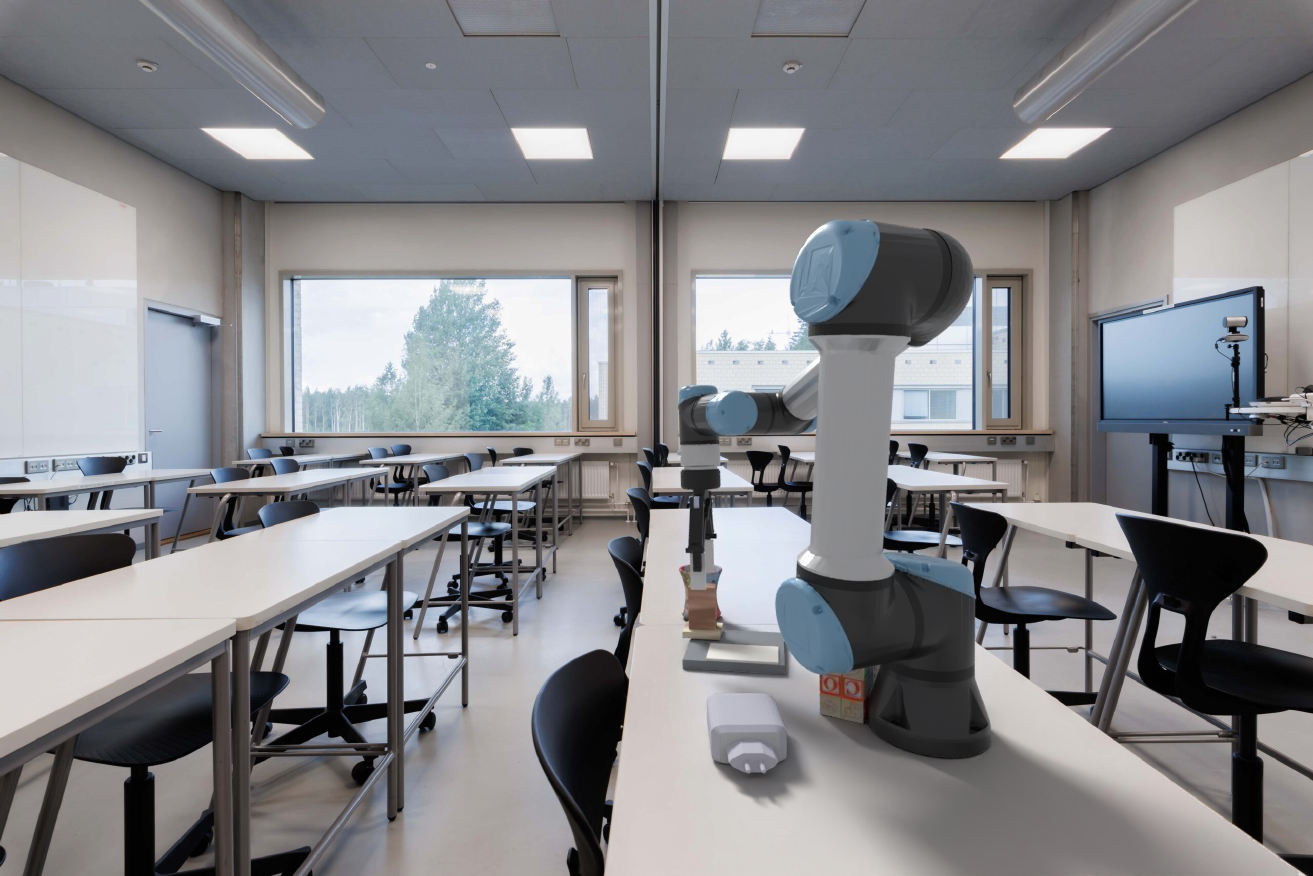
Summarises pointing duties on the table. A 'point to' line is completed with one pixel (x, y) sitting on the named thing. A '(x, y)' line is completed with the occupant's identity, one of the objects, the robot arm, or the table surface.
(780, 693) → the table surface
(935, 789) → the table surface
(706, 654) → the board
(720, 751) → the charger
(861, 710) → the stack of blocks
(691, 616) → the stub
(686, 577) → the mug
